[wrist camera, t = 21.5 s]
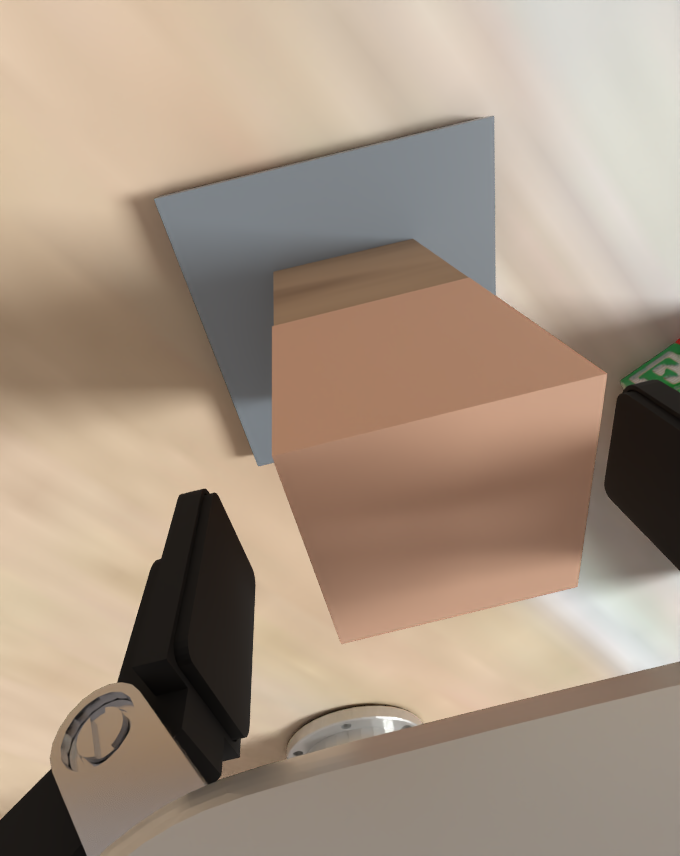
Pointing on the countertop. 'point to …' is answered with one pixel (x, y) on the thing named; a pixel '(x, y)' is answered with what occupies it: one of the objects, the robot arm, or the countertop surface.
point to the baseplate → (324, 237)
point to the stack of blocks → (659, 369)
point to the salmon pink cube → (433, 455)
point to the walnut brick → (357, 279)
